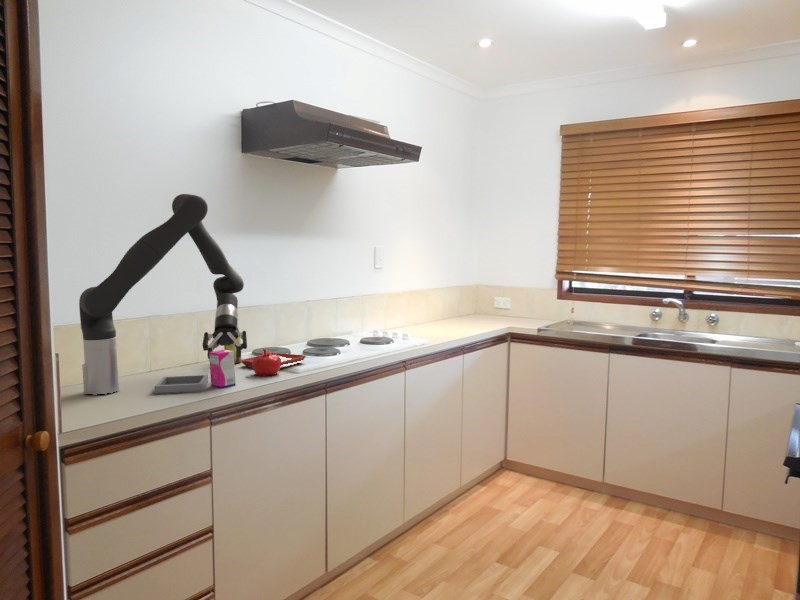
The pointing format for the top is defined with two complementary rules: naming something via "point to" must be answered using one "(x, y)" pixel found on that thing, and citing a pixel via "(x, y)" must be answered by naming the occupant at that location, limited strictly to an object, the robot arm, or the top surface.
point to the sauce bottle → (233, 349)
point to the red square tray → (294, 357)
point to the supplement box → (222, 368)
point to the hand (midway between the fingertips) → (224, 358)
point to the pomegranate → (266, 364)
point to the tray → (181, 384)
